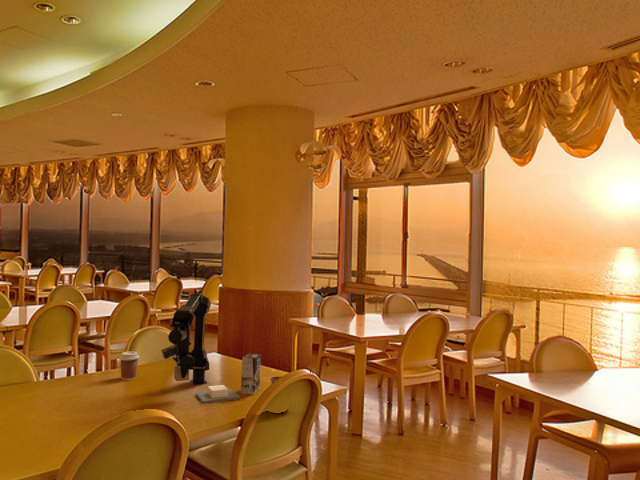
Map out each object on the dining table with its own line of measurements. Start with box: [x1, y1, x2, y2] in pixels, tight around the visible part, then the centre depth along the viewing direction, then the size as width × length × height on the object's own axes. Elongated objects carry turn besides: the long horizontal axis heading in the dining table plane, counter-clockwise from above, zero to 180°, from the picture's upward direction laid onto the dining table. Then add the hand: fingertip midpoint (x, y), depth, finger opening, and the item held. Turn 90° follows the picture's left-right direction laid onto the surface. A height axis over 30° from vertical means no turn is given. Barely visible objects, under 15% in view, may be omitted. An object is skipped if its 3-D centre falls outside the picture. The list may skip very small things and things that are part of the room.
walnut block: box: [173, 365, 190, 382], centre depth 218 cm, size 5×5×5 cm
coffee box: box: [240, 353, 262, 396], centre depth 232 cm, size 9×6×16 cm
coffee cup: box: [118, 351, 140, 381], centre depth 246 cm, size 9×9×12 cm
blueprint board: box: [195, 384, 241, 404], centre depth 222 cm, size 12×16×4 cm
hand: (181, 376), depth 218 cm, fingers closed on walnut block, 5 cm apart
